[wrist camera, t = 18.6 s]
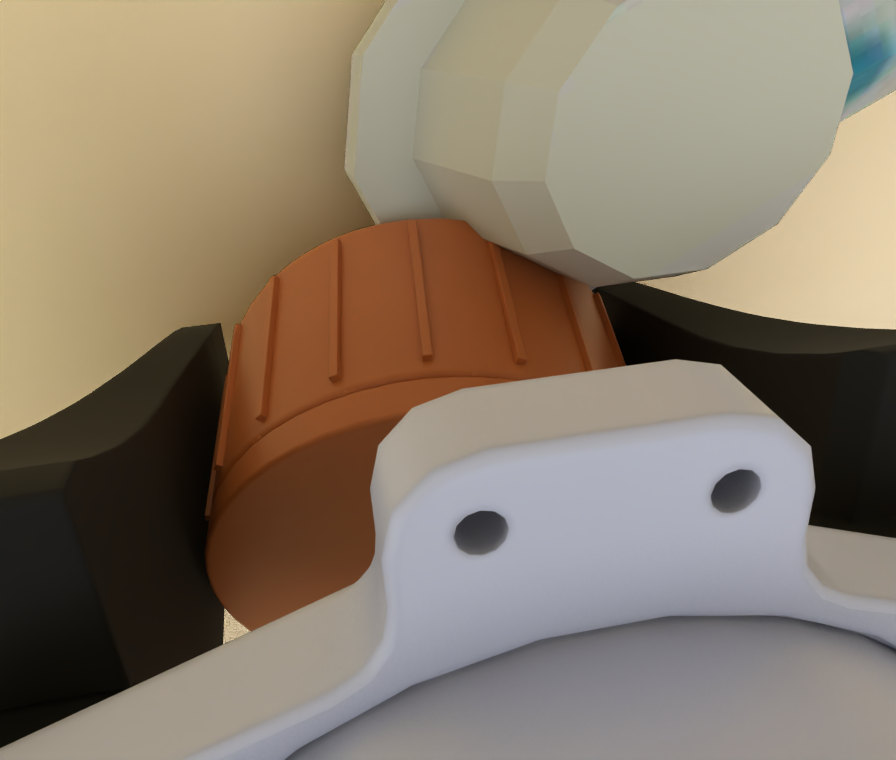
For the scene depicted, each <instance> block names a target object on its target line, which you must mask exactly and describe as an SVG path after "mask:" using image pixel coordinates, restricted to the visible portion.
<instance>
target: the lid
mask: <svg viewBox="0 0 896 760" xmlns="http://www.w3.org/2000/svg"><path fill="white" fill-rule="evenodd" d="M623 366H626V363H625V360H624V358H623V355H622V352H621V350H620V347H619V344H618V342H617V339H616V336H615V333H614V331H613V328H612V325H611V323H610V320H609V317H608V315H607V312H606V309H605V306H604V304H603V301H602V298H601V296H600V294H599V293H598V292H597V293H595V294H593V292H592V290H591V289H590V288H589V286H588V285H587V284H584V283H581V282H579V281H576V280H574V279H571V278H568V277H566V276H563V275H561V274H558V273H555V272H553V271H551V270H549V269H547V268H545V267H543V266H541V265H539V264H537V263H535V262H532V261H530V260H528V259H526V258H524V257H522V256H520V255H518V254H515V253H513V252H511V251H509V250H507V249H505V248H503V247H500V246H499V245H497V244H495V243H493V242H490V241H487V240H485V239H483V238H482V237H481V236H480V235H479V234H478V233H477V232H476V231H475V230H474V229H473V228H472V227H471V226H470V225H469V224H468V223H467V222H466V221H464V220H454V219H448V218H447V219H443V218H434V219H409V220H401V221H394V222H387V223H381V224H377V225H374V226H370V227H366V228H362V229H358V230H355V231H351V232H349V233H345V234H343V235H341V236H339V237H336V238H334V239H331V240H329V241H327V242H325V243H323V244H321V245H319V246H317V247H316V248H314V249H312V250H310V251H308V252H306V253H305V254H303V255H302V256H300V257H299V258H298V259H296V260H295V261H293V262H292V263H290V264H289V265H288V266H286V267H285V268H284V269H283V270H282V271H281V272H280V273H279V274H277V275H274V276H272V277H271V278H270V279H269V283H268V284H267V285H266V286H265V287H264V288H263V290H262V291H261V292H260V294H259V295H258V296H257V297H256V299H255V300H254V301H253V302H252V304H251V306H250V307H249V309H248V311H247V313H246V315H245V316H244V318H243V320H242V322H241V325H240V324H236V325H235V327H234V331H233V338H232V345H231V352H230V358H229V365H228V372H227V375H226V376H225V383H224V389H223V396H222V403H221V409H220V416H219V423H218V429H217V436H216V443H215V450H214V456H213V463H212V470H211V476H210V483H209V490H208V497H207V503H206V510H205V520H209V524H208V531H207V538H206V545H205V552H204V554H205V565H206V572H207V575H208V578H209V581H210V583H211V586H212V589H213V591H214V593H215V594H216V596H217V598H218V599H219V601H220V602H221V604H222V605H223V606H224V608H225V609H226V610H227V611H228V612H229V613H230V614H231V615H232V616H233V617H234V618H235V619H236V620H237V621H238V622H240V623H241V624H242V625H243V626H245V627H246V628H247V629H248V630H250V631H253V630H255V629H257V628H260V627H262V626H264V625H266V624H268V623H270V622H272V621H275V620H277V619H279V618H281V617H283V616H285V615H287V614H290V613H292V612H294V611H296V610H298V609H300V608H302V607H305V606H307V605H309V604H311V603H313V602H315V601H317V600H320V599H322V598H324V597H326V596H328V595H330V594H332V593H335V592H337V591H339V590H341V589H343V588H345V587H348V586H350V585H352V584H354V583H355V582H357V581H358V580H359V579H360V578H361V577H362V575H363V574H364V573H365V572H366V571H367V570H368V569H369V567H370V565H371V563H372V560H373V557H374V554H375V537H376V532H375V524H374V516H373V509H372V501H371V493H370V486H371V481H372V476H373V470H374V465H375V460H376V455H377V449H378V445H379V444H380V443H381V442H382V441H383V439H384V438H385V437H386V436H387V435H388V434H389V433H390V432H391V431H392V430H393V428H394V427H395V426H396V425H397V424H398V423H399V422H400V421H401V420H402V419H403V417H404V416H405V415H406V414H407V413H408V412H409V411H410V410H411V409H412V408H413V407H416V406H418V405H421V404H424V403H426V402H429V401H431V400H434V399H437V398H439V397H442V396H444V395H447V394H450V393H452V392H455V391H457V390H460V389H464V388H471V387H478V386H485V385H493V384H500V383H507V382H514V381H521V380H529V379H536V378H543V377H550V376H558V375H565V374H572V373H579V372H587V371H594V370H601V369H608V368H616V367H623Z"/></svg>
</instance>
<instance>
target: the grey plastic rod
mask: <svg viewBox="0 0 896 760" xmlns="http://www.w3.org/2000/svg"><path fill="white" fill-rule="evenodd" d="M895 90H896V0H386V1H385V3H384V4H383V6H382V8H381V9H380V11H379V12H378V14H377V16H376V17H375V19H374V20H373V22H372V24H371V25H370V27H369V28H368V30H367V31H366V33H365V35H364V36H363V38H362V39H361V41H360V43H359V44H358V46H357V47H356V49H355V51H354V52H353V54H352V64H351V79H350V94H349V109H348V124H347V139H346V155H345V172H346V173H347V175H348V177H349V179H350V180H351V182H352V184H353V185H354V187H355V189H356V191H357V192H358V194H359V196H360V198H361V199H362V201H363V203H364V205H365V206H366V208H367V210H368V212H369V213H370V215H371V217H372V219H373V220H374V222H375V224H376V225H377V224H381V223H387V222H394V221H401V220H409V219H434V218H443V219H447V218H448V219H454V220H464V221H466V222H467V223H468V224H469V225H470V226H471V227H472V228H473V229H474V230H475V231H476V232H477V233H478V234H479V235H480V236H481V237H482V238H483V239H485V240H487V241H490V242H493V243H495V244H497V245H499V246H500V247H503V248H505V249H507V250H509V251H511V252H513V253H515V254H518V255H520V256H522V257H524V258H526V259H528V260H530V261H532V262H535V263H537V264H539V265H541V266H543V267H545V268H547V269H549V270H551V271H553V272H555V273H558V274H561V275H563V276H566V277H568V278H571V279H574V280H576V281H579V282H581V283H584V284H587V285H588V286H589V288H590V289H591V290H594V289H595V288H597V287H600V286H607V285H615V284H622V283H630V282H637V281H644V280H652V279H659V278H666V277H674V276H679V275H683V274H687V273H692V272H696V271H700V270H705V269H708V268H709V267H711V266H712V265H714V264H716V263H717V262H719V261H720V260H722V259H723V258H725V257H727V256H728V255H730V254H731V253H733V252H734V251H736V250H738V249H739V248H741V247H742V246H744V245H745V244H747V243H749V242H750V241H752V240H753V239H755V238H756V237H758V236H760V235H761V234H763V233H764V232H766V231H767V230H769V229H771V228H772V227H774V226H775V225H777V224H778V223H779V221H780V220H781V219H782V217H783V216H784V215H785V213H786V212H787V211H788V209H789V208H790V207H791V205H792V204H793V203H794V201H795V200H796V199H797V197H798V196H799V195H800V193H801V192H802V191H803V189H804V188H805V187H806V186H807V184H808V183H809V182H810V180H811V179H812V178H813V176H814V175H815V174H816V172H817V171H818V170H819V168H820V167H821V166H822V164H823V163H824V162H825V160H826V159H827V158H828V156H829V155H830V153H831V149H832V146H833V142H834V139H835V135H836V132H837V128H838V125H839V122H841V121H843V120H844V119H846V118H848V117H850V116H851V115H853V114H855V113H857V112H858V111H860V110H862V109H864V108H865V107H867V106H869V105H871V104H872V103H874V102H876V101H878V100H879V99H881V98H883V97H885V96H886V95H888V94H890V93H892V92H894V91H895Z"/></svg>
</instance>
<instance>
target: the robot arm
mask: <svg viewBox="0 0 896 760" xmlns="http://www.w3.org/2000/svg"><path fill="white" fill-rule="evenodd" d="M592 292H593V294H595V293H597V292H598V293H599V294H600V296H601V298H602V301H603V304H604V306H605V309H606V312H607V315H608V317H609V320H610V323H611V325H612V328H613V331H614V333H615V336H616V339H617V342H618V344H619V347H620V350H621V352H622V355H623V358H624V360H625V363H626V366H623V367H616V368H608V369H601V370H594V371H587V372H579V373H572V374H565V375H558V376H550V377H543V378H536V379H529V380H521V381H514V382H507V383H500V384H493V385H485V386H478V387H471V388H464V389H460V390H457V391H455V392H452V393H450V394H447V395H444V396H442V397H439V398H437V399H434V400H431V401H429V402H426V403H424V404H421V405H418V406H416V407H413V408H412V409H411V410H410V411H409V412H408V413H407V414H406V415H405V416H404V417H403V419H402V420H401V421H400V422H399V423H398V424H397V425H396V426H395V427H394V428H393V430H392V431H391V432H390V433H389V434H388V435H387V436H386V437H385V438H384V439H383V441H382V442H381V443H380V444H379V445H378V449H377V455H376V460H375V465H374V470H373V476H372V481H371V486H370V493H371V501H372V509H373V516H374V524H375V532H376V537H375V554H374V557H373V560H372V563H371V565H370V567H369V569H368V570H367V571H366V572H365V573H364V574H363V575H362V577H361V578H360V579H359V580H358V581H357V582H355V583H354V584H352V585H350V586H348V587H345V588H343V589H341V590H339V591H337V592H335V593H332V594H330V595H328V596H326V597H324V598H322V599H320V600H317V601H315V602H313V603H311V604H309V605H307V606H305V607H302V608H300V609H298V610H296V611H294V612H292V613H290V614H287V615H285V616H283V617H281V618H279V619H277V620H275V621H272V622H270V623H268V624H266V625H264V626H262V627H260V628H257V629H255V630H253V631H251V632H249V633H247V634H244V635H242V636H240V637H238V638H236V639H234V640H232V641H229V642H227V643H225V644H223V631H224V606H223V605H222V604H221V602H220V601H219V599H218V598H217V596H216V594H215V593H214V591H213V589H212V586H211V583H210V581H209V578H208V575H207V572H206V565H205V554H204V552H205V545H206V538H207V531H208V524H209V520H205V510H206V503H207V497H208V490H209V483H210V476H211V470H212V463H213V456H214V450H215V443H216V436H217V429H218V423H219V416H220V409H221V403H222V396H223V389H224V383H225V376H226V375H227V372H228V365H229V361H228V356H227V351H226V347H225V342H224V337H223V332H222V328H221V323H217V324H208V325H200V326H192V327H184V328H180V329H178V330H176V331H175V332H173V333H172V334H170V335H169V336H168V337H166V338H165V339H164V340H162V341H161V342H160V343H158V344H157V345H156V346H155V347H153V348H152V349H151V350H150V351H148V352H147V353H146V354H144V355H143V356H142V357H141V358H139V359H138V360H137V361H135V362H134V363H133V364H131V365H130V366H129V367H128V368H126V369H125V370H124V371H122V372H121V373H119V374H118V375H116V376H115V377H113V378H112V379H111V380H109V381H108V382H106V383H105V384H103V385H102V386H100V387H99V388H97V389H96V390H95V391H93V392H92V393H90V394H89V395H87V396H86V397H84V398H82V399H81V400H79V401H78V402H76V403H74V404H72V405H71V406H69V407H67V408H66V409H64V410H62V411H60V412H58V413H56V414H54V415H52V416H50V417H49V418H47V419H45V420H43V421H41V422H39V423H37V424H35V425H33V426H31V427H28V428H26V429H24V430H21V431H19V432H17V433H14V434H12V435H10V436H7V437H5V438H3V439H0V760H896V330H890V329H865V328H851V327H838V326H826V325H816V324H808V323H800V322H793V321H787V320H781V319H775V318H769V317H763V316H757V315H753V314H748V313H743V312H739V311H735V310H731V309H727V308H723V307H719V306H715V305H711V304H707V303H703V302H700V301H696V300H693V299H689V298H686V297H683V296H679V295H676V294H673V293H669V292H666V291H663V290H659V289H656V288H653V287H649V286H646V285H643V284H639V283H636V282H630V283H622V284H615V285H607V286H600V287H597V288H595V289H594V290H592Z"/></svg>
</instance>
